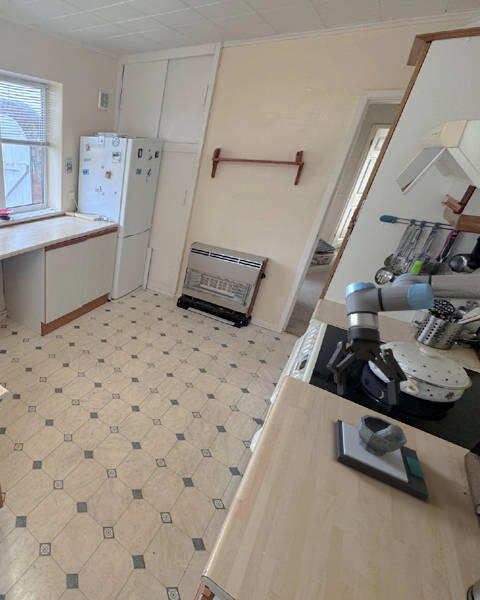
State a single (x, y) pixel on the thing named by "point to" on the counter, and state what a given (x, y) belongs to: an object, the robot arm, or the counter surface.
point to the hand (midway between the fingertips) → (367, 399)
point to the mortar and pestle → (379, 435)
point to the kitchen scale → (381, 462)
